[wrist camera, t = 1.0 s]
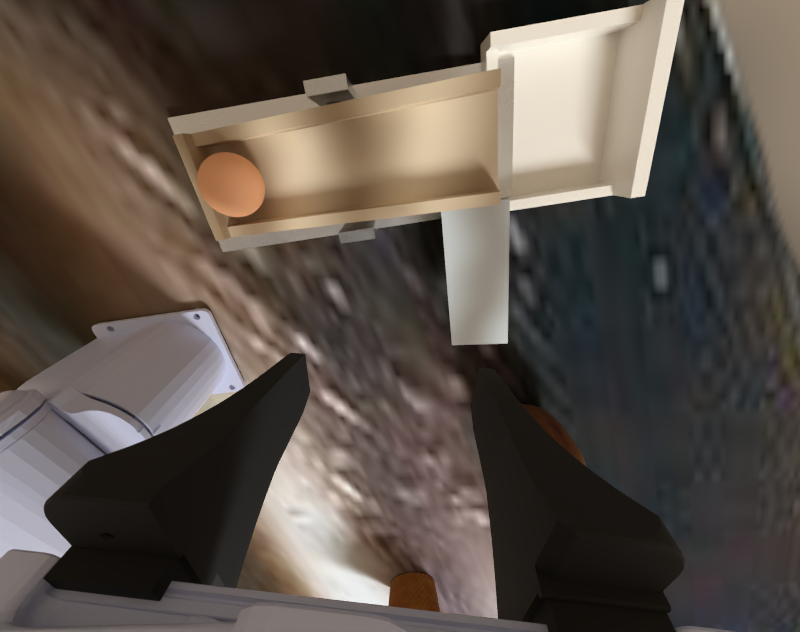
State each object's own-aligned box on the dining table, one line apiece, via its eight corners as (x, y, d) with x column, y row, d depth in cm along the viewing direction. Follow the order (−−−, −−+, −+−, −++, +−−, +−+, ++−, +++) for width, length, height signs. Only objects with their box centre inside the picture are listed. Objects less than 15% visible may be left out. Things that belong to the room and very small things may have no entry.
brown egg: (236, 214, 19) (199, 226, 16) (215, 156, 18) (170, 158, 15) (283, 207, 18) (252, 218, 16) (265, 147, 17) (226, 147, 14)
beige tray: (286, 343, 25) (268, 364, 22) (208, 130, 18) (169, 128, 16) (505, 336, 21) (511, 360, 19) (509, 67, 14) (518, 51, 12)
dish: (483, 208, 21) (500, 217, 18) (480, 44, 17) (500, 19, 14) (606, 189, 21) (644, 195, 18) (631, 17, 17) (687, -15, 14)
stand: (227, 249, 22) (191, 269, 18) (173, 119, 19) (115, 108, 15) (508, 206, 21) (535, 217, 17) (510, 59, 18) (544, 31, 14)
